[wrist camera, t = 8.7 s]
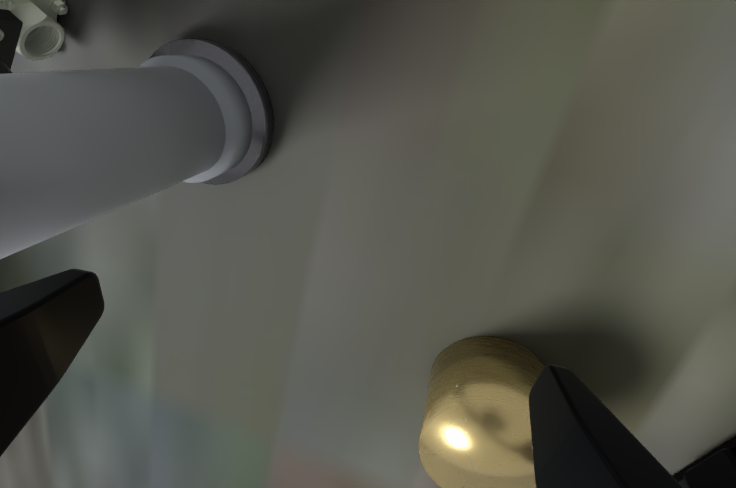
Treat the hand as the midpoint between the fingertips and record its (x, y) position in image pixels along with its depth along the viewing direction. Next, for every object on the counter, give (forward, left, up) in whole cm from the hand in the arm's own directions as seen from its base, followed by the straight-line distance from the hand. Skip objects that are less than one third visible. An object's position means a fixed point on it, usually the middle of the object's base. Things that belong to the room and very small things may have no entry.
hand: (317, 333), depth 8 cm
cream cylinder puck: (-9, +8, -12) cm, 18 cm away
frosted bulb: (+10, +2, -11) cm, 15 cm away
